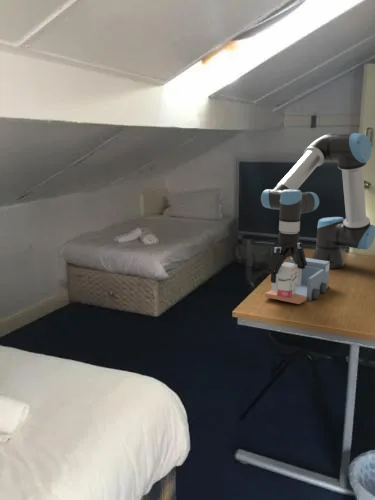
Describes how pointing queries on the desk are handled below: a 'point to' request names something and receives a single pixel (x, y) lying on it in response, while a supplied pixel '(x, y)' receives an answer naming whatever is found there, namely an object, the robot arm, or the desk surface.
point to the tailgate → (293, 299)
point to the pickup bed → (313, 278)
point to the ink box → (287, 279)
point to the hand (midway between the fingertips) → (286, 287)
